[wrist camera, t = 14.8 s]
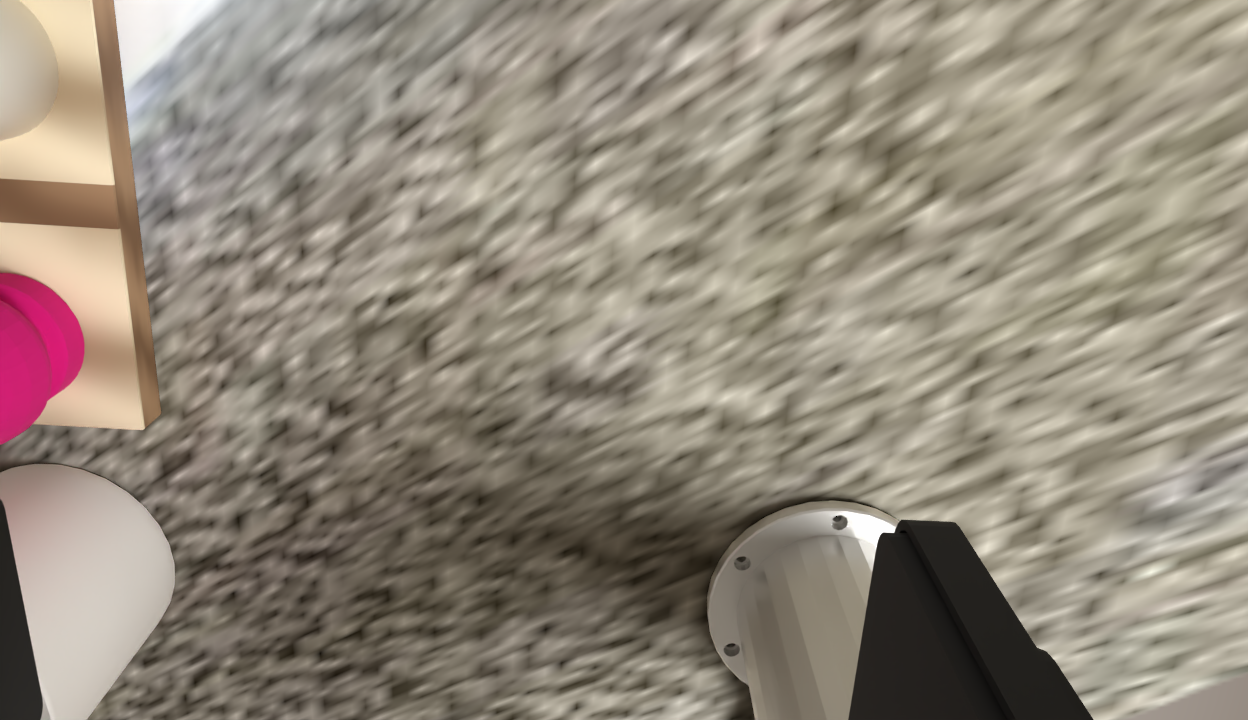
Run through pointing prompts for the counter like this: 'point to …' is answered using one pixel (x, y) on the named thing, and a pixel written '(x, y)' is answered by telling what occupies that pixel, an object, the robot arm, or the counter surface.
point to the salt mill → (24, 70)
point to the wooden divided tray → (84, 220)
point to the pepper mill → (34, 351)
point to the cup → (84, 579)
